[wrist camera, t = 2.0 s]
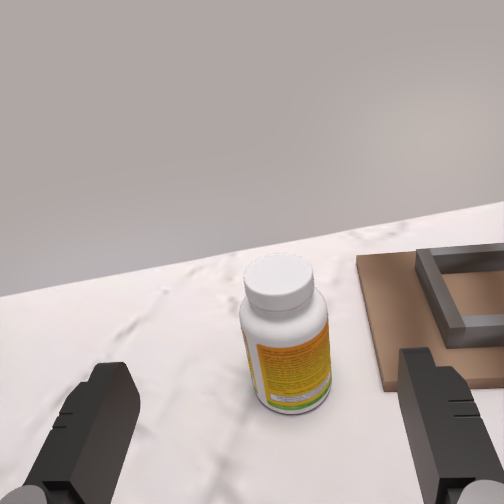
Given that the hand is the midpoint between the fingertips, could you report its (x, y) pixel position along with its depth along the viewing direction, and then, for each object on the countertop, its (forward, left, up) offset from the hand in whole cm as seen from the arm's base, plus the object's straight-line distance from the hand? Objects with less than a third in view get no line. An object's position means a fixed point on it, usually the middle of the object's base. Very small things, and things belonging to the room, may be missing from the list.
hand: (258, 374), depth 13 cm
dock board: (+15, +17, -15) cm, 27 cm away
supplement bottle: (0, +11, -15) cm, 19 cm away
